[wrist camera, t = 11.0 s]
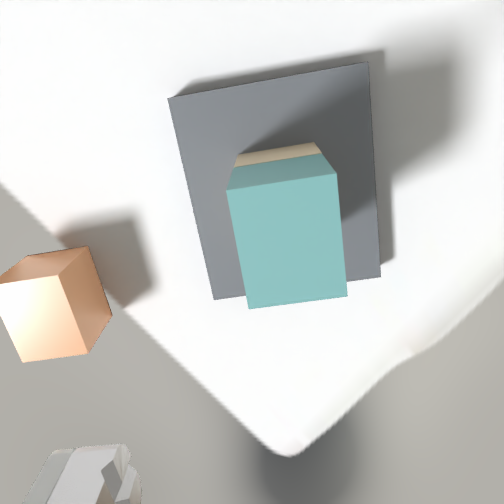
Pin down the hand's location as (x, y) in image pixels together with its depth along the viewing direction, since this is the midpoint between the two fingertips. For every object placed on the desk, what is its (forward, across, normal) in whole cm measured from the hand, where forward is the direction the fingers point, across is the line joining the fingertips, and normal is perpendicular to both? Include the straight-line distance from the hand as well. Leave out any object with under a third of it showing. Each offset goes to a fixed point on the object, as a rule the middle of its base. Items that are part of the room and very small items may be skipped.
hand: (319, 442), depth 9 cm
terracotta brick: (+22, +17, +5) cm, 28 cm away
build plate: (+22, 0, 0) cm, 22 cm away
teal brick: (+16, 0, 0) cm, 16 cm away
